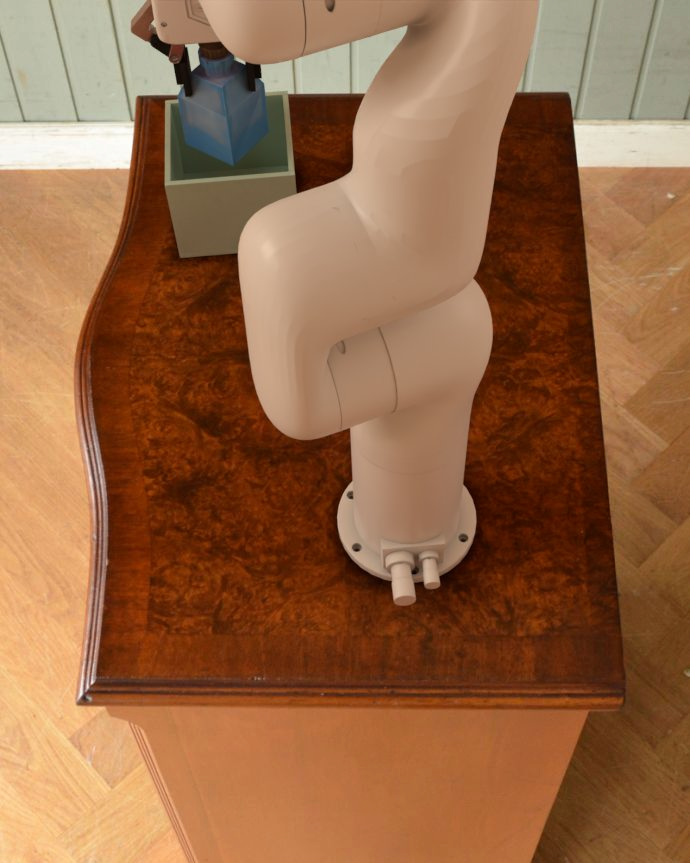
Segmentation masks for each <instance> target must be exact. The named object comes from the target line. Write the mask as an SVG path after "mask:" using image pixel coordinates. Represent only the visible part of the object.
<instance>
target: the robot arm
mask: <svg viewBox="0 0 690 863" xmlns="http://www.w3.org/2000/svg"><path fill="white" fill-rule="evenodd" d="M539 5H540V0H146V1H145V2H144V3H143V5H142V6H141V7H140V8H139V10H138V11H137V12H136V14H135V15H134V16H133V18H131V21H130V33H131V34H133V35H134V36H136V37H137V38H139V39H141V40H143V41H144V42H145V43H146V42H147V43H149V44H150V46H151V47H152V48H153V49H154V50H156V51H158V52H159V53H161V54H163V55H164V56H165V57H166V58H168V61H169V63H171V64H172V65H173V70H174V76H175V77H174V78H175V82H176V85H177V86H180V85H181V86H184V92H185V97H191V95H192V86H191V78H190V72H191V71H192V67H191V61H190V60H191V59H190V54H189V49H188V46H186V45H194V44H197V45H198V43H211V42H222V44H223V45H224V46H225V47H226V48H227V49H228V51H230V52H231V53H232V54H233V55H234V57H235V58H238V60H241V61H243V62H244V64H245V65H246V73H247V81H248V89H249V91H250V90H251V92H256V84H255V79H262V78H263V76H262V75H263V74H262V73H263V72H262V66H264V65H265V66H266V65H276V64H279V63H286V62H289V61H294V60H296V59H297V60H298V59H299V58H302V57H307V56H309V55H314V54H316V53H320V52H323V51H327V50H329V49H333V48H336V47H340V46H344V45H347V44H350V43H354V42H357V41H360V40H364V39H367V38H371V37H374V36H377V35H380V34H384V33H386V32H390V31H394V30H398V29H400V28H403V27H406V26H407V27H406V30H405V33H404V35H403V37H402V38H401V40H400V41H399V42H398V44H397V45H395V47H394V49H393V50H392V51H391V52H390V54H389V55H388V56H387V58H386V59H385V60H384V62H383V63H382V65H381V66H380V67H379V69H378V70H377V72H376V74H375V75H374V77H373V79H372V81H371V83H370V84H369V86H368V88H367V90H366V92H365V94H364V96H363V98H362V101H361V103H360V105H359V106H358V107H359V108H358V110H357V113H356V116H355V119H354V124H353V128H352V167H351V170H350V171H349V172H348V173H347V174H345V175H344V176H341V177H340V178H337V179H336V180H334V181H331V182H328V183H326V184H323V185H319V186H317V187H313V188H310V189H307V190H304V191H301V192H297V194H295V195H292V196H289V197H286V198H283V199H281V200H278V201H276V202H274V203H271V204H269V205H267V206H265V207H264V208H262V209H260V210H259V211H258V212H256V213H255V214H254V215H253V216H252V217H251V218H250V219H249V221H248V222H247V223H246V225H245V227H244V229H243V231H242V233H241V236H240V241H239V245H238V253H237V263H238V264H237V266H238V278H239V286H240V294H241V295H240V296H241V300H242V301H241V302H242V311H243V316H244V317H243V319H244V326H245V334H246V340H247V349H248V350H247V351H248V358H249V365H250V369H251V375H252V376H251V377H252V380H253V385H254V388H255V391H256V395H257V397H258V401H259V403H260V405H261V408H262V410H263V412H264V413H265V415H266V418H268V419H269V421H270V422H271V424H272V425H273V426H274V427H275V428H276V429H277V430H278V431H279V432H281V433H282V434H283V435H284V436H287V437H289V438H291V439H294V440H299V441H312V440H317V439H321V438H325V437H327V436H331V435H333V434H336V433H340V432H342V431H345V430H348V429H350V430H349V433H350V434H349V435H350V456H351V457H350V458H351V475H352V481H351V482H349V484H348V485H347V487H346V488H345V490H344V492H343V493H342V496H341V498H340V500H339V504H338V508H337V516H336V519H337V520H336V521H337V522H336V523H337V531H338V536H339V540H340V542H341V544H342V547H343V548H344V551H345V552H346V553H347V555H348V556H349V558H350V559H351V560H352V561H353V562H354V563H355V564H356V565H358V567H359V568H361V569H362V570H364V571H366V572H367V573H369V574H370V575H371V576H373V577H377V578H379V579H382V580H384V581H388V582H391V590H392V599H393V604H394V605H395V606H399V607H406V606H410V605H413V604H414V603H416V601H417V596H416V587H415V584H416V583H423V586H424V588H425V589H426V590H436V589H438V588H439V587H441V580H440V579H441V578H440V577H441V576H443V575H445V574H446V573H448V572H450V571H451V570H452V569H454V568H456V566H457V565H459V564H460V563H461V562H462V560H463V559H464V558H465V557H466V555H467V554H468V552H469V550H471V549H470V548H471V546H472V545H473V542H474V539H475V535H476V528H477V510H476V506H475V504H474V499H473V498H472V495H471V494H470V492H469V490H468V488H467V487H466V485H464V479H465V470H466V469H465V468H466V457H467V449H468V439H469V438H468V437H469V431H470V421H471V413H472V407H473V401H474V398H475V396H476V395H475V394H476V392H477V390H478V388H479V385H480V383H481V381H482V379H483V377H484V375H485V372H486V369H487V366H488V364H489V361H490V356H491V352H492V348H493V347H492V346H493V339H494V338H493V337H494V328H493V327H494V326H493V317H492V311H491V308H490V306H489V302H488V299H487V297H486V295H485V293H484V291H483V289H482V288H481V286H480V284H479V283H478V282H477V281H476V280H475V279H474V278H475V276H476V274H477V272H478V270H479V267H480V263H481V260H482V257H483V254H484V253H483V252H484V248H485V244H486V239H487V238H486V237H487V231H488V225H489V219H490V218H489V217H490V210H491V204H492V199H493V198H492V197H493V191H494V184H495V178H496V172H497V171H496V170H497V162H498V155H499V154H498V153H499V145H500V140H501V137H502V132H503V129H504V127H505V123H506V120H507V117H508V114H509V111H510V109H511V106H512V105H513V104H512V103H513V100H514V98H515V95H516V94H517V90H518V88H519V86H520V82H521V79H522V77H523V74H524V72H525V69H526V65H527V62H528V59H529V55H530V52H531V48H532V45H533V41H534V37H535V32H536V27H537V20H538V14H539ZM153 22H154V25H155V26H154V25H153V24H152V23H153Z"/></svg>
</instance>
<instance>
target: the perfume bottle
mask: <svg viewBox="0 0 690 863" xmlns="http://www.w3.org/2000/svg"><path fill="white" fill-rule="evenodd" d="M197 46H198V50H197V54H198V55H197V57H198V62H199V64H198V65H197V66H196V67H195V68H193V69H192V70H191V72H190V78H191V86H192V95H191V97H185V92H184V86H183V85H181V88H180V90H179V92H178V94H177V99H178V102H179V107H180V113H181V118H182V124H183V130H184V135H185V141H186V144H187V145H189V146H192V147H194V148H196V149H198V150H200V151H202V152H204V153H206V154H209V155H211V156H213V157H215V158H217V159H219V160H221V161H223V162H226V163H228V164H230V165H232V166H234V165H235V164H236V163H237V162H238V161H239V160H240V159H241V158H242V157H243V156H244V155H245V154H246V153H247V152H248V151H250V150H251V149H252V148H253V147H254V146H255V145H256V144H257V143H258V142H259V141H260V140H261V139H262V138H263V137H264V136H265V135H266V134H267V133H268V132H269V126H268V116H267V106H266V96H265V92H266V87H265V86H266V85H265V83H264V81H263V80H262V79H261V78H259V79H255V84H256V92H251V90H250V91H249V89H248V81H247V73H246V65H245V63H243V62H241V61H239V60H236V59H235V56H234V55H233V54H232V53H231V52H230V51H228V49H227V48H226V47H225V46H224V45H223V44H222V42H211V43H198V44H197Z"/></svg>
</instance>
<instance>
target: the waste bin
mask: <svg viewBox="0 0 690 863" xmlns="http://www.w3.org/2000/svg"><path fill="white" fill-rule="evenodd" d="M265 96H266V106H267V116H268V126H269V132H268V133H267V134H266V135H265V136H264V137H263V138H262V139H261V140H260V141H259V142H258V143H257V144H256V145H255V146H254V147H253V148H252V149H251V150H250V151H248V152H247V153H246V154H245V155H244V156H243V157H242V158H241V159H240V160H239V161H238V162H237V163H236V164H235V165H234V166H232V165H230V164H228V163H226V162H223V161H221V160H219V159H217V158H215V157H213V156H211V155H209V154H206V153H204V152H202V151H200V150H198V149H196V148H194V147H192V146H189V145H187V144H186V141H185V135H184V130H183V124H182V118H181V113H180V107H179V102H178V98H177V99H168V100H167V99H166V100H164V189H165V194H166V199H167V204H168V208H169V212H170V217H171V222H172V227H173V231H174V235H175V236H174V237H175V240H176V245H177V250H178V254H179V258H180V259H185V258H186V259H187V258H197V257H210V256H221V255H234V254H238V245H239V241H240V236H241V233H242V231H243V229H244V227H245V225H246V223H247V222H248V221H249V219H250V218H251V217H252V216H253V215H254V214H255V213H256V212H258V211H259V210H260V209H262V208H264V207H265V206H267V205H269V204H271V203H274V202H276V201H278V200H281V199H283V198H286V197H289V196H292V195H295V194H298V192H297V183H296V182H297V181H296V169H295V160H294V159H295V158H294V147H293V136H292V124H291V112H290V102H289V92H288V90H280V91H279V90H277V91H267V92H266V91H265Z"/></svg>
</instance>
